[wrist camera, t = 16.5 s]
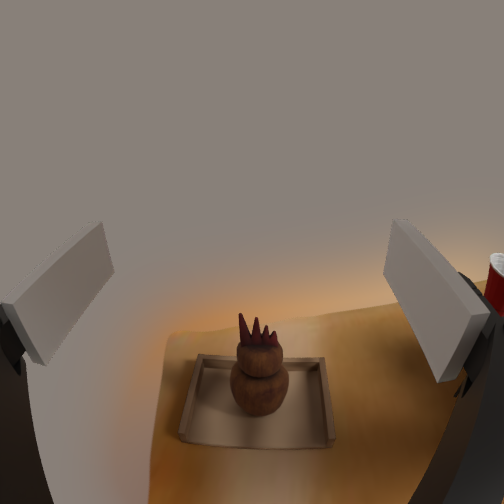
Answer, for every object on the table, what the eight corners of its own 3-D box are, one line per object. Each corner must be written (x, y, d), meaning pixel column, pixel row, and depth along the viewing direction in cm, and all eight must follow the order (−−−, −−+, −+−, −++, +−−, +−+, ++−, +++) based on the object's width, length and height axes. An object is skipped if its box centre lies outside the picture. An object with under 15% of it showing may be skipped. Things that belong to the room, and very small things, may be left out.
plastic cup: (485, 333, 42) (508, 280, 37) (463, 301, 52) (481, 251, 46) (518, 328, 41) (540, 279, 36) (496, 300, 51) (513, 253, 45)
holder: (321, 368, 40) (324, 357, 39) (331, 447, 29) (335, 438, 27) (200, 365, 41) (198, 354, 40) (181, 442, 30) (177, 432, 29)
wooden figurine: (224, 411, 34) (213, 322, 27) (244, 380, 38) (240, 290, 32) (275, 429, 31) (283, 343, 24) (291, 395, 36) (303, 305, 29)
